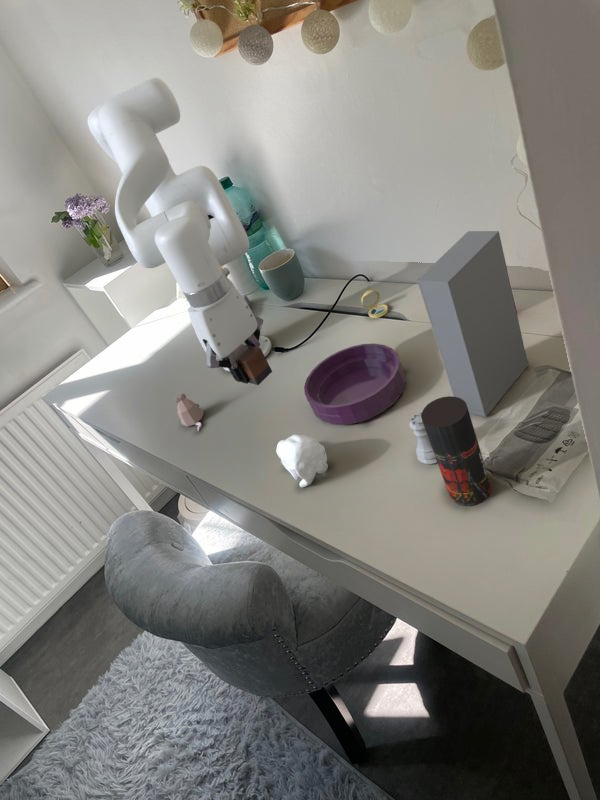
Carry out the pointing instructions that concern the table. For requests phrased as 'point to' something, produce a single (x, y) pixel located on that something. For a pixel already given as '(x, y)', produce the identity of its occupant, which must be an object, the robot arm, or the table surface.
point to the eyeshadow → (373, 304)
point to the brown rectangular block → (252, 363)
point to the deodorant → (456, 450)
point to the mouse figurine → (189, 411)
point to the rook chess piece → (422, 440)
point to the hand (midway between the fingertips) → (251, 372)
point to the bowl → (355, 384)
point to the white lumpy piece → (302, 457)
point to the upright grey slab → (475, 320)
